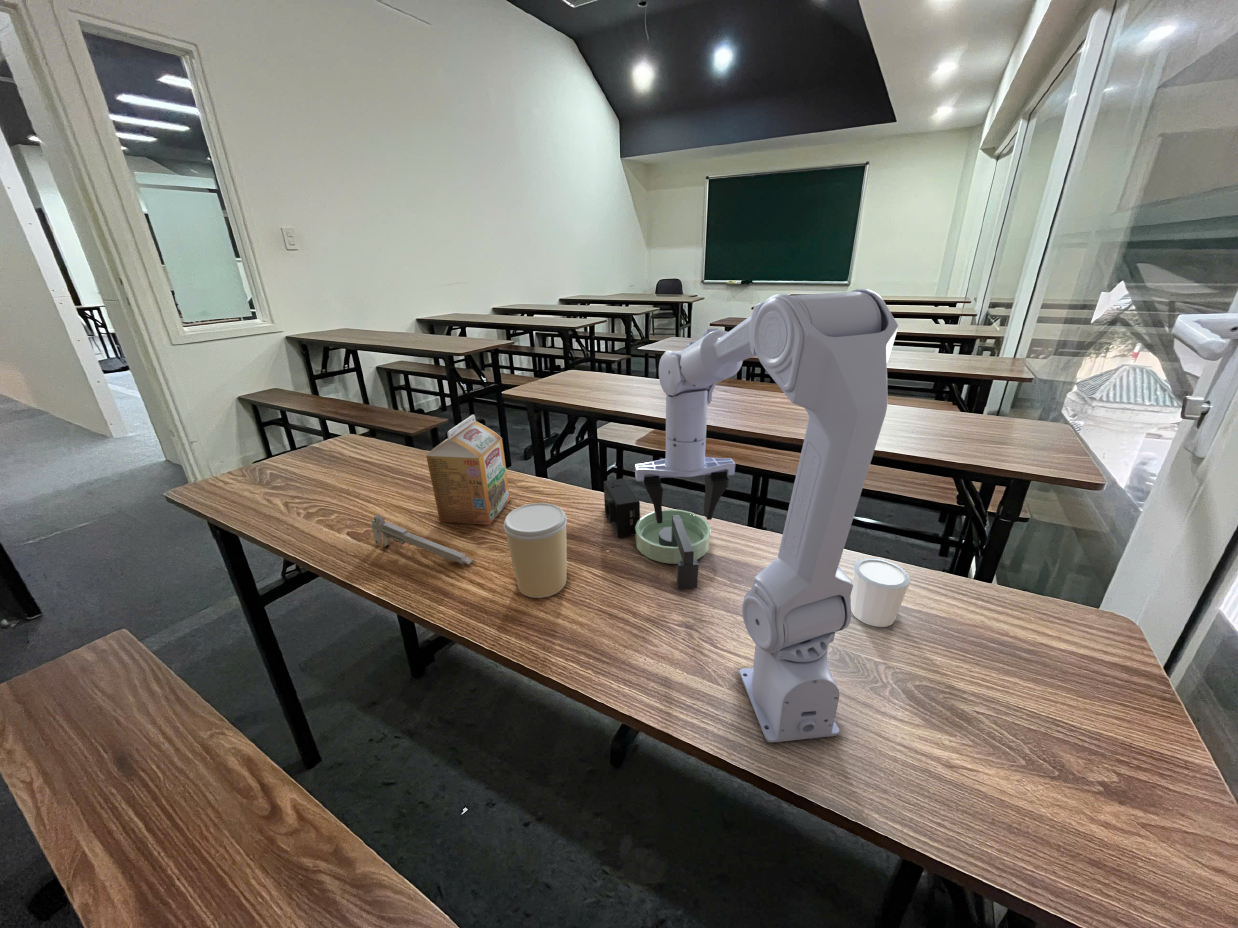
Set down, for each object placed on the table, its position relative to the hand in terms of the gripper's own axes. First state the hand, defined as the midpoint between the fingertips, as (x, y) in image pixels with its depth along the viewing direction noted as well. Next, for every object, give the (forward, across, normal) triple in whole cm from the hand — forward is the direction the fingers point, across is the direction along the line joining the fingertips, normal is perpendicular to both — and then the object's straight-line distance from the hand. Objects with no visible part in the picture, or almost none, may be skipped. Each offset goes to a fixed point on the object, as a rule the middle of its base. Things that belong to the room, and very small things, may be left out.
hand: (683, 518), depth 74 cm
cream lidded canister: (+10, +22, 0) cm, 25 cm away
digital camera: (+10, +9, -17) cm, 21 cm away
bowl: (+10, 0, -8) cm, 13 cm away
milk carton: (+10, +38, -26) cm, 47 cm away
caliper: (+10, +44, -11) cm, 47 cm away
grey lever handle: (+10, 0, -3) cm, 10 cm away
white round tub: (+10, -24, +13) cm, 30 cm away
